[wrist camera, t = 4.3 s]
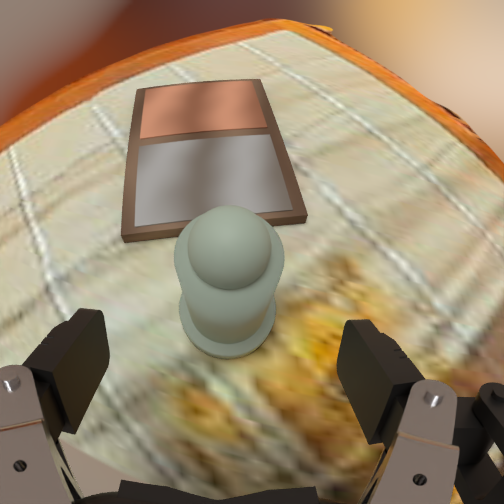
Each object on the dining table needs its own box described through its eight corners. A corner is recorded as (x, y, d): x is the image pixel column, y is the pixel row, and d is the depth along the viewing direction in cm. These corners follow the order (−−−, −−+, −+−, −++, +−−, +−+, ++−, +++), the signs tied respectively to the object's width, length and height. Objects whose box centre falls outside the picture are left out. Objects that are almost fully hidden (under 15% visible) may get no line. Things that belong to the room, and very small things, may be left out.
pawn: (263, 268, 22) (290, 160, 13) (280, 351, 19) (330, 289, 10) (178, 278, 21) (149, 172, 12) (187, 364, 18) (151, 312, 9)
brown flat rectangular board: (259, 86, 32) (260, 78, 31) (304, 222, 24) (308, 214, 23) (138, 96, 30) (136, 88, 29) (124, 242, 22) (120, 234, 21)
